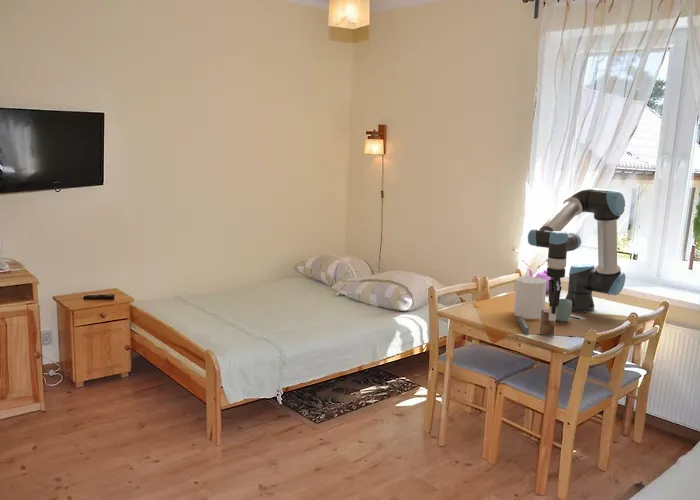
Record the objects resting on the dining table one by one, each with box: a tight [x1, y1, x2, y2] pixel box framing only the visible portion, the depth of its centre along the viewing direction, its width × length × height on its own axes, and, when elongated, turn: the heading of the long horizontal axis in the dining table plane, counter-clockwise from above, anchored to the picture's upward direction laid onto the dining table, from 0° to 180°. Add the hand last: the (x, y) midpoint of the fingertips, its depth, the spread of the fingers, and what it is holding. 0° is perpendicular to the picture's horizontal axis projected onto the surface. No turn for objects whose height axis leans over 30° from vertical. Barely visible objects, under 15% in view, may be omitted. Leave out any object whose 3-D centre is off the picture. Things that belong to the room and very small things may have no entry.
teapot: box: [526, 268, 562, 295], centre depth 350 cm, size 20×14×12 cm
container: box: [513, 276, 547, 320], centre depth 304 cm, size 14×14×18 cm
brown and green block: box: [539, 308, 556, 337], centre depth 275 cm, size 5×5×11 cm
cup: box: [556, 298, 572, 323], centre depth 296 cm, size 8×8×10 cm
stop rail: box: [517, 316, 530, 335], centre depth 284 cm, size 2×18×3 cm, turn 175°
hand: (552, 320), depth 267 cm, fingers closed
